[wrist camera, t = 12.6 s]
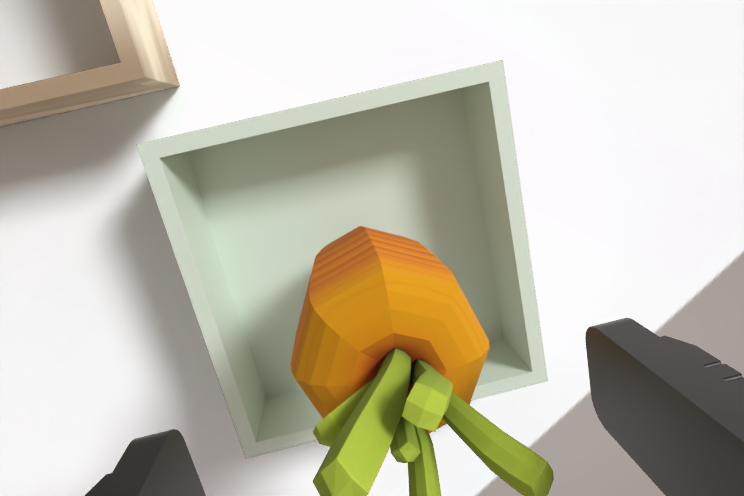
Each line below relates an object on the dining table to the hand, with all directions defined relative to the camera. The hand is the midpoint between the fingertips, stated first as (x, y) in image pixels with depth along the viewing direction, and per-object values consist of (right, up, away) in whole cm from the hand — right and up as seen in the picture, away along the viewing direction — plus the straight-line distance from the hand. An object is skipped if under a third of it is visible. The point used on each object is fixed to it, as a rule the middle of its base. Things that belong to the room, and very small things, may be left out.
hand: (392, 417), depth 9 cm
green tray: (-1, +3, +13) cm, 13 cm away
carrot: (-1, +3, +13) cm, 13 cm away
